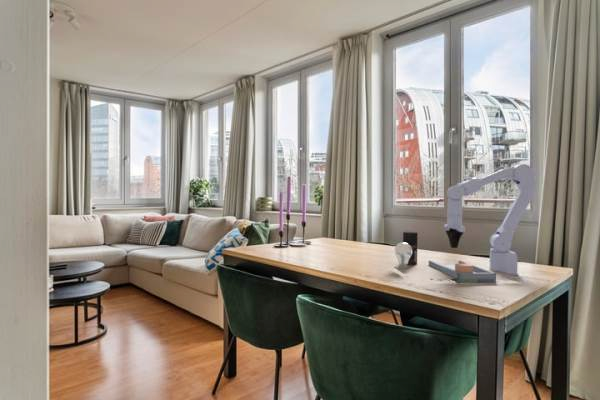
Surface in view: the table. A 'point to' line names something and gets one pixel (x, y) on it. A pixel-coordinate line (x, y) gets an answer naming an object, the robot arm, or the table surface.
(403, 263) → the light bulb
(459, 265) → the block
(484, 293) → the table surface
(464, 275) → the trap box
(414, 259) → the dark brown rectangular block
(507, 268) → the robot arm
